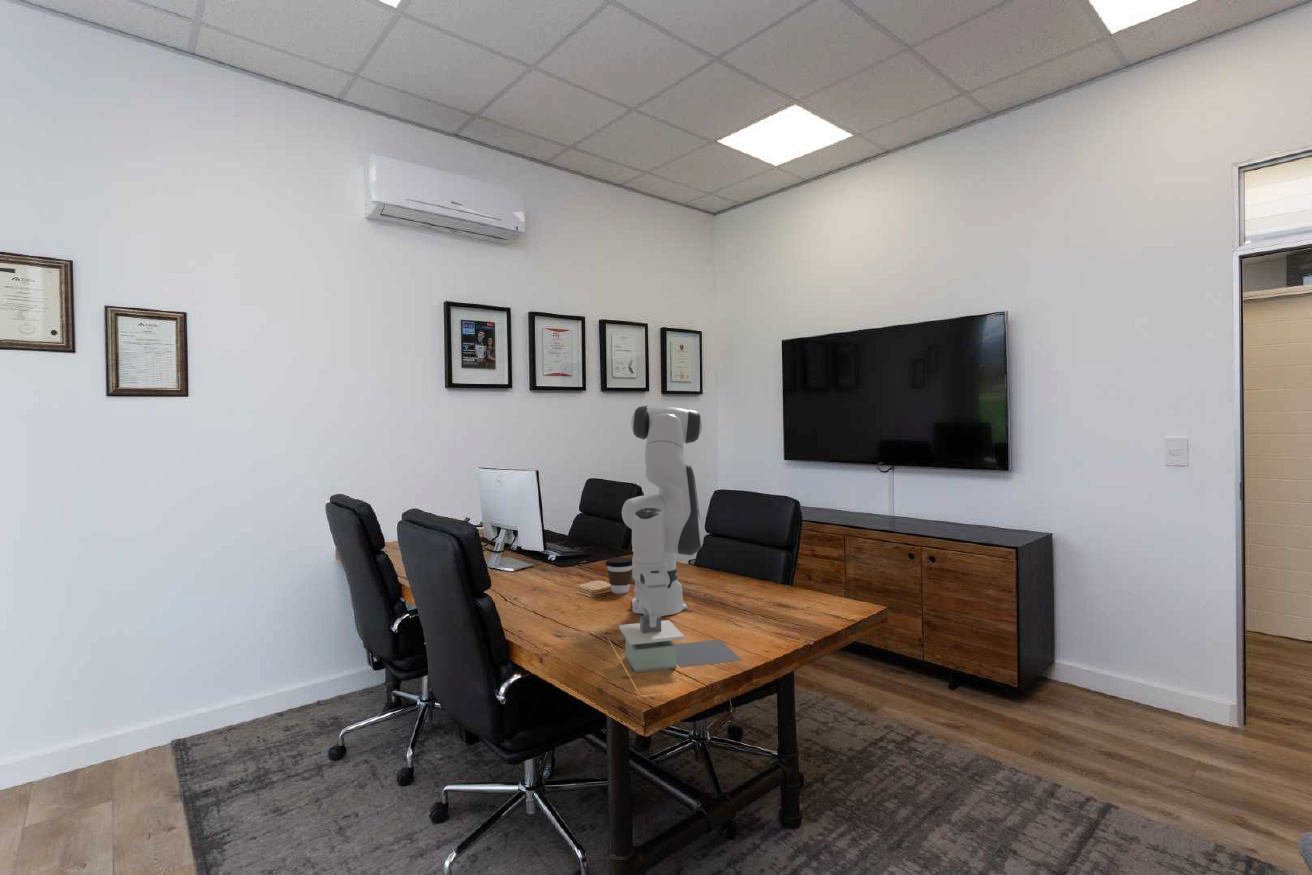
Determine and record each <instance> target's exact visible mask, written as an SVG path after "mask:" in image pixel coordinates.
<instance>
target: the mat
mask: <svg viewBox="0 0 1312 875" xmlns="http://www.w3.org/2000/svg"><path fill="white" fill-rule="evenodd" d="M674 644H675V645H676V662H677V666H679V668H686V667H687V668H688V667H696V666H697V667H698V666H705V665H715V664H721V663H730V662H738V661H740V662H741V661H743V659H742V658H741V657H739V655H737V654H736V653H735V652H734V651H733V650H732V649H731V648H729V647H728V645H726V643H724V642H723V641H722V640H721V639H711V640H704V641H703V640H702V641H692V642H685V643H674Z"/></svg>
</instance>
